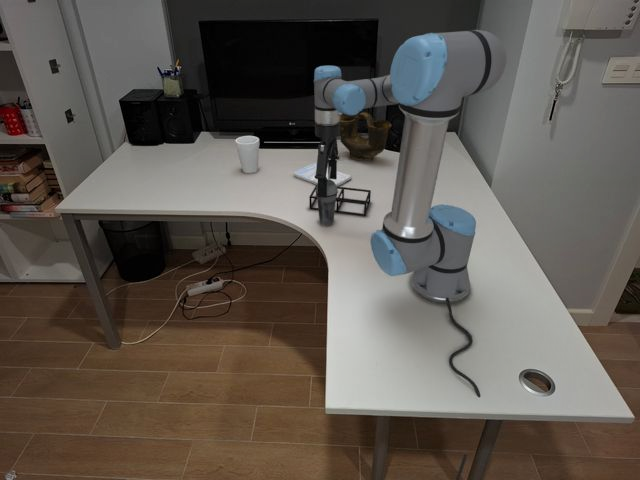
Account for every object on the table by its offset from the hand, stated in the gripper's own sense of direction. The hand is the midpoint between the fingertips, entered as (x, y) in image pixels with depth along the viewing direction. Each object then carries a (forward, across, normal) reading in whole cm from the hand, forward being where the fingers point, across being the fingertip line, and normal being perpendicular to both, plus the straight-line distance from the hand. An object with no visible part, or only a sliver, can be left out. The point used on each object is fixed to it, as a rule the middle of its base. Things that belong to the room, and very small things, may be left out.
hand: (327, 187), depth 142 cm
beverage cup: (+13, 0, 0) cm, 13 cm away
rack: (+13, +12, -2) cm, 18 cm away
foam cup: (+12, +33, +41) cm, 55 cm away
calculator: (+13, +33, +10) cm, 37 cm away
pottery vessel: (+13, +57, -2) cm, 59 cm away
